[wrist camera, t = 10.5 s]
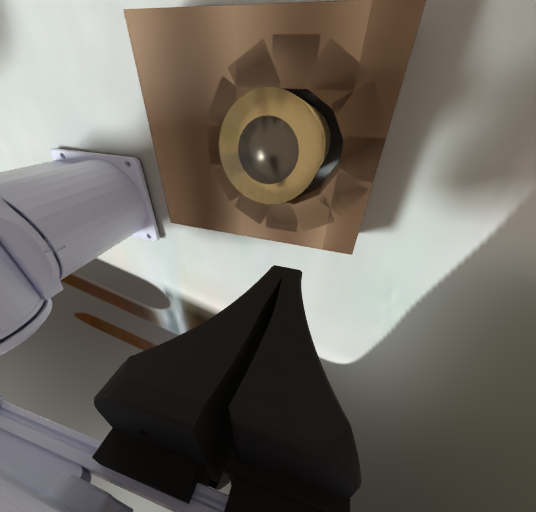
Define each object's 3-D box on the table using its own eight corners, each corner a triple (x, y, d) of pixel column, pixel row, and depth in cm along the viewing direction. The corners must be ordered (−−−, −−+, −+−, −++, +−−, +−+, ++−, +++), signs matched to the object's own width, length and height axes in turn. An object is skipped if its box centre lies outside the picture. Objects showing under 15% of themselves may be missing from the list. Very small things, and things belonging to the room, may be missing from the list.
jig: (190, 208, 21) (170, 222, 19) (161, 24, 14) (123, 9, 12) (351, 234, 18) (351, 254, 16) (410, 18, 11) (427, -3, 9)
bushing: (264, 174, 17) (222, 200, 11) (264, 103, 15) (213, 88, 9) (325, 178, 16) (315, 208, 10) (335, 102, 14) (329, 84, 8)
